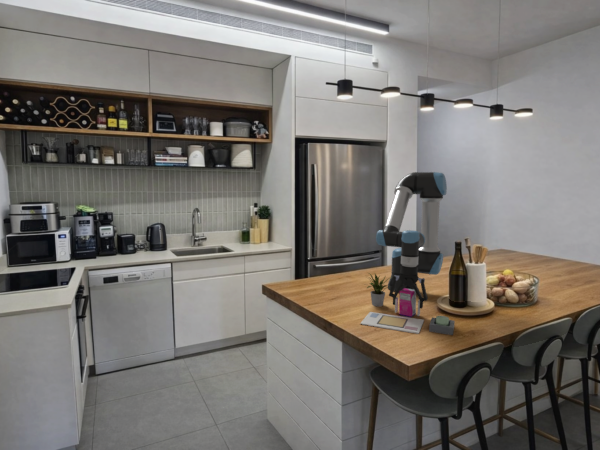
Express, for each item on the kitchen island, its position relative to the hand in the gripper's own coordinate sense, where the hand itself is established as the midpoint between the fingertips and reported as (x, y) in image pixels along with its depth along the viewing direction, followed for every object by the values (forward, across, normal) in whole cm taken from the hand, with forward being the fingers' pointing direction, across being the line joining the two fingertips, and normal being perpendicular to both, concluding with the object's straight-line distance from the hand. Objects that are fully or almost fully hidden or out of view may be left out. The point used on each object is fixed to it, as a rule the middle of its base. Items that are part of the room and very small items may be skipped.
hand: (407, 313), depth 182 cm
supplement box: (+1, 0, 0) cm, 1 cm away
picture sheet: (+1, -4, -13) cm, 14 cm away
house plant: (+1, -17, +8) cm, 19 cm away
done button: (+1, +16, -12) cm, 20 cm away
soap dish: (+1, +16, -12) cm, 20 cm away
